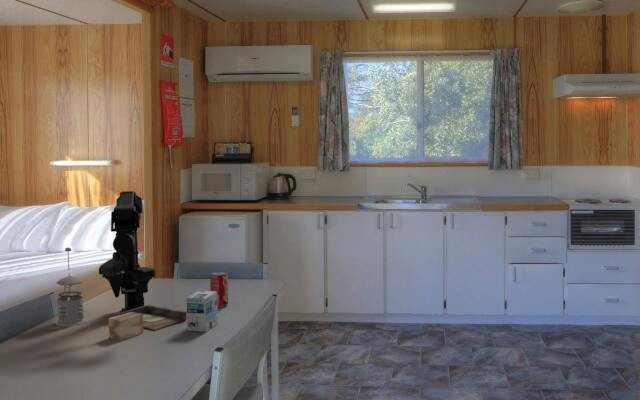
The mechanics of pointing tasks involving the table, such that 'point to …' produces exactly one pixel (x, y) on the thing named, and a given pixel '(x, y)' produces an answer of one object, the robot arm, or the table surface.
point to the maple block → (125, 325)
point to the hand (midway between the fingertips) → (127, 298)
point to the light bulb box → (202, 311)
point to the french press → (70, 302)
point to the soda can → (220, 287)
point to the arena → (158, 316)
